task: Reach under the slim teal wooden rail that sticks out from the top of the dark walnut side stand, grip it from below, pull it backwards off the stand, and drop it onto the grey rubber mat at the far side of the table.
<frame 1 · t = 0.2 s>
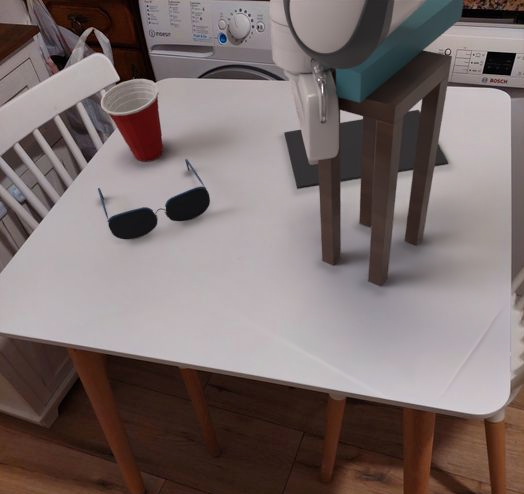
hand: (312, 150, 69), 15 cm above the table, tool pointing down, fingers open, 4 cm apart
sunglasses: (155, 205, 91), on the table
plastic cup: (148, 155, 101), on the table
mat: (360, 148, 93), on the table
rail: (402, 55, 58), point 26 cm above the table, touching stand
stand: (372, 249, 77), on the table
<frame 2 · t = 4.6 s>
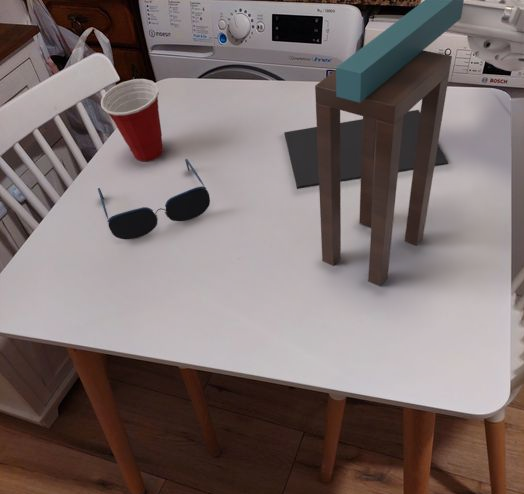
hand: (473, 8, 67), 24 cm above the table, tool pointing upward, fingers open, 8 cm apart
nothing on the table moved.
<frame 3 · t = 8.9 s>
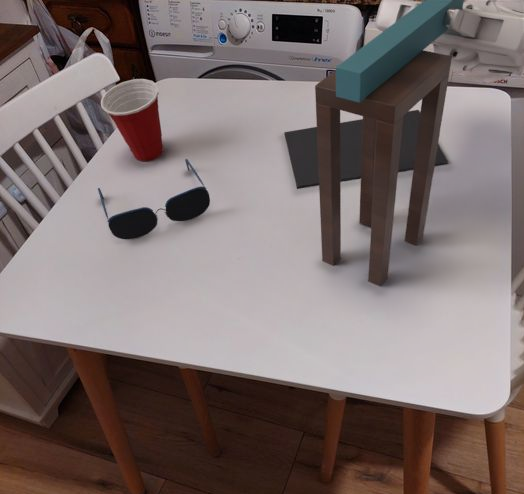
hand: (432, 14, 59), 28 cm above the table, tool pointing upward, fingers closed on rail, 3 cm apart
rail: (402, 55, 58), point 26 cm above the table, touching gripper, stand
everything else where it was.
when the fingers open (16 cm above the table, at t = 19.0 s): rail drops 14 cm, resting on mat.
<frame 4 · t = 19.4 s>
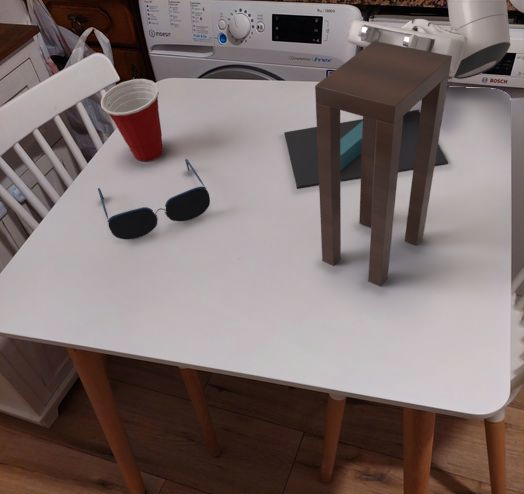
hand: (384, 35, 83), 16 cm above the table, tool pointing upward, fingers open, 7 cm apart
rail: (363, 143, 94), resting on mat
everything else where it was.
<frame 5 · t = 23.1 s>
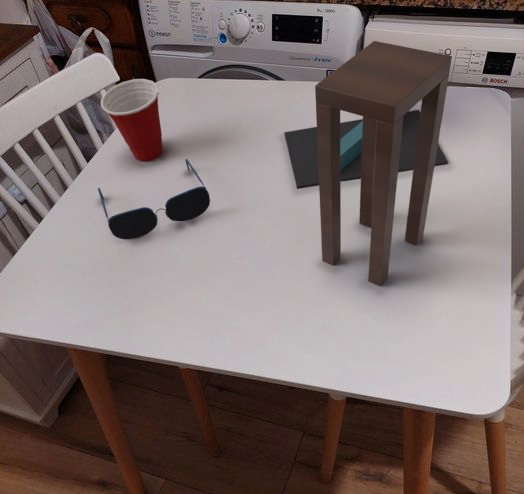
nothing on the table moved.
at the end: rail inside the target area on the mat (1.0 cm from its centre), point 0.4 cm above the mat's base; rail touching mat; the gripper is holding nothing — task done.
